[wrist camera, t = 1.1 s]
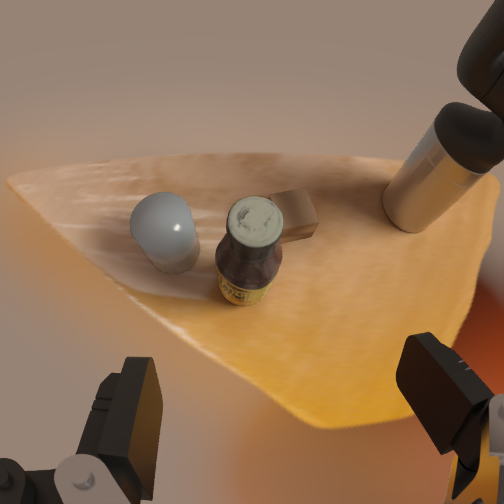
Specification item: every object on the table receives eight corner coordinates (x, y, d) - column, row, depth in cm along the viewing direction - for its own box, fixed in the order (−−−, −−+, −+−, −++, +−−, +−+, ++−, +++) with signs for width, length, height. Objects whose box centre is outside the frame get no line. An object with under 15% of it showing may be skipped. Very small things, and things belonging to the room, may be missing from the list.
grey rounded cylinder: (195, 220, 44) (186, 186, 35) (204, 267, 42) (196, 241, 33) (146, 231, 43) (127, 200, 34) (153, 278, 41) (133, 256, 32)
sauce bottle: (210, 275, 41) (190, 198, 23) (252, 253, 42) (264, 163, 24) (235, 319, 39) (234, 275, 21) (278, 295, 41) (313, 232, 22)
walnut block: (300, 206, 45) (306, 188, 41) (310, 237, 44) (319, 221, 39) (266, 212, 45) (269, 194, 40) (276, 244, 43) (281, 229, 38)
